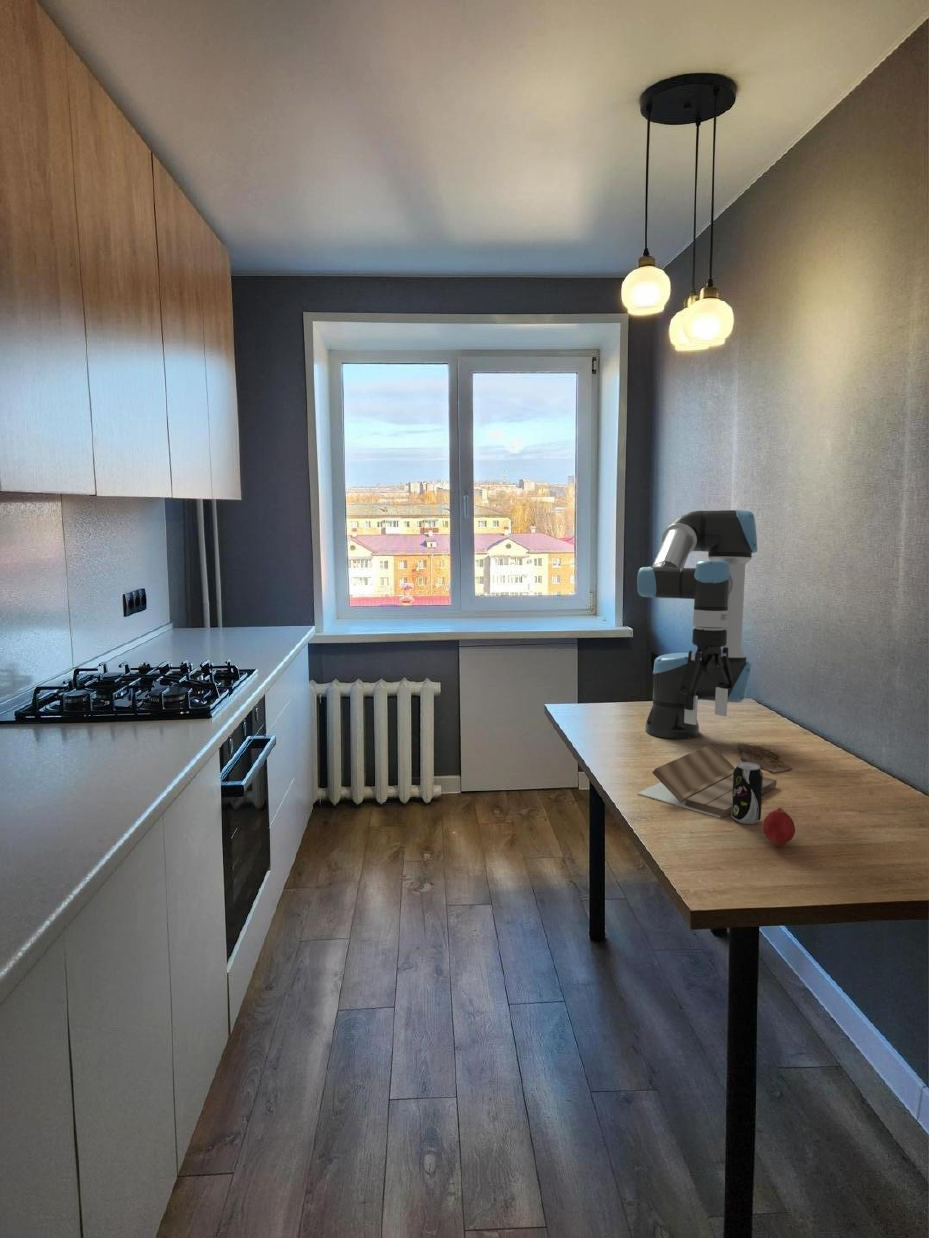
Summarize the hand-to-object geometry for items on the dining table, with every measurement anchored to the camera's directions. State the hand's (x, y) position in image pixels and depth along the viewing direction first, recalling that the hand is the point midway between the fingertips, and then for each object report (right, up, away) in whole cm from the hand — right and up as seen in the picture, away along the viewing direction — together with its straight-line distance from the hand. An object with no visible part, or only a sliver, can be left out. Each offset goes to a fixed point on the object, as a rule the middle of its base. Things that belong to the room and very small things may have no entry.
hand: (705, 719), depth 179 cm
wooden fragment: (+22, -14, +24) cm, 35 cm away
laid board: (+5, -17, -4) cm, 18 cm away
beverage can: (+3, -19, -18) cm, 26 cm away
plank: (-2, -13, +2) cm, 13 cm away
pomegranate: (+4, -21, -30) cm, 37 cm away
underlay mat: (0, -16, 0) cm, 16 cm away
